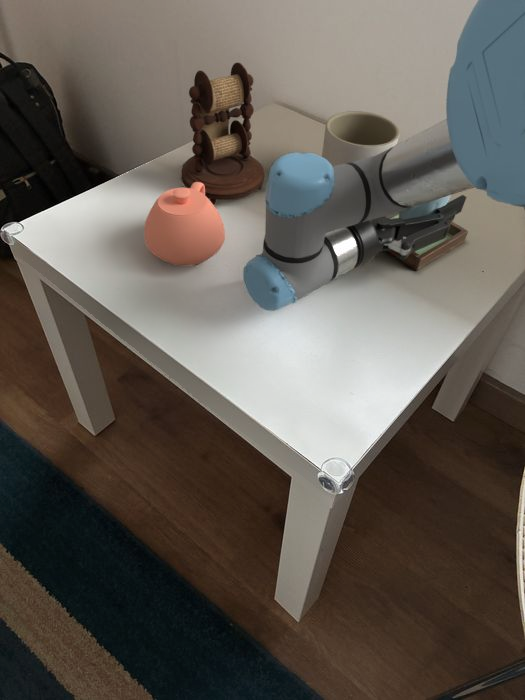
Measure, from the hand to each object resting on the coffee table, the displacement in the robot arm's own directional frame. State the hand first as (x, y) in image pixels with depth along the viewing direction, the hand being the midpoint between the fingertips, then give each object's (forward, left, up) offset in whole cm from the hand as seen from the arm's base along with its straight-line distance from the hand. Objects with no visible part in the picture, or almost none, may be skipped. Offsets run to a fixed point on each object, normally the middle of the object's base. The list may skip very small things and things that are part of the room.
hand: (442, 192), depth 86 cm
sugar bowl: (+20, +36, -7) cm, 42 cm away
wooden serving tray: (0, +5, -7) cm, 8 cm away
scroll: (+31, +21, -7) cm, 38 cm away
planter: (+17, +2, -7) cm, 18 cm away
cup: (0, +5, -6) cm, 8 cm away
